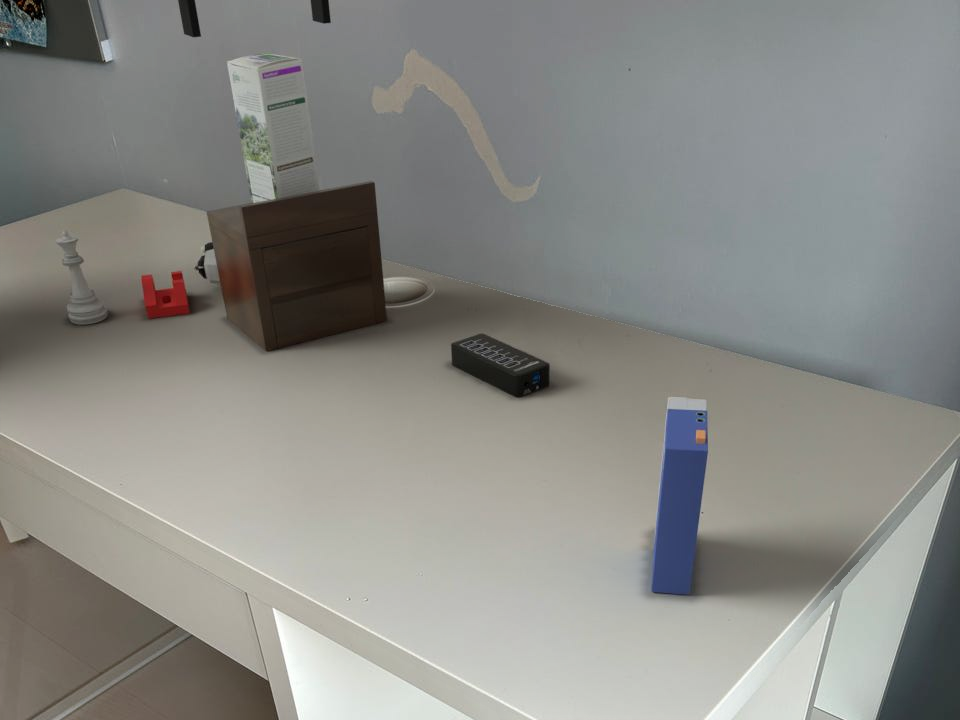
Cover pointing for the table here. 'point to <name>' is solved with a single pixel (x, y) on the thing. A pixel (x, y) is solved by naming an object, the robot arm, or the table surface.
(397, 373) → the table surface
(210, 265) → the robot toy
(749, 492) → the table surface
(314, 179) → the syrup box
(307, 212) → the wooden drawer cabinet
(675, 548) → the walkman
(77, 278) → the chess piece
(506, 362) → the multiport hub
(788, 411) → the table surface
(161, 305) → the bracket
